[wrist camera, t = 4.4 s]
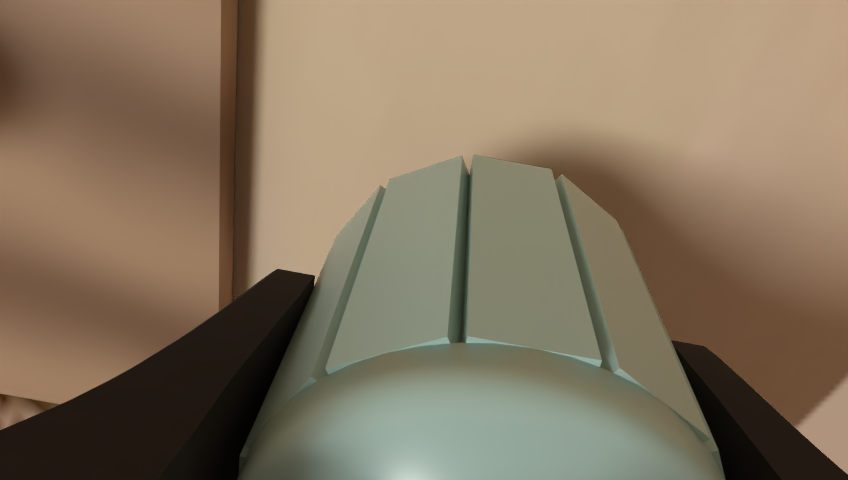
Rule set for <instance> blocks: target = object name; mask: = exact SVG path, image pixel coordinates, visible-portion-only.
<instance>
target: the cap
mask: <svg viewBox="0 0 848 480" xmlns="http://www.w3.org/2000/svg"><path fill="white" fill-rule="evenodd" d="M237 480H725V476H724V472H723V467H722V463H721V459H720V454H719V450H718V448H717V446H716V443H715V441H714V439H713V436H712V434H711V432H710V429H709V427H708V425H707V423H706V420H705V418H704V416H703V413H702V411H701V409H700V406H699V404H698V402H697V400H696V397H695V395H694V393H693V390H692V388H691V386H690V383H689V381H688V379H687V377H686V374H685V372H684V370H683V367H682V365H681V363H680V360H679V358H678V356H677V353H676V351H675V349H674V347H673V344H672V342H671V340H670V337H669V335H668V333H667V330H666V328H665V326H664V324H663V321H662V319H661V317H660V314H659V312H658V310H657V307H656V305H655V303H654V301H653V298H652V296H651V294H650V291H649V289H648V287H647V284H646V282H645V280H644V277H643V275H642V273H641V271H640V268H639V266H638V264H637V261H636V259H635V257H634V254H633V252H632V250H631V248H630V245H629V243H628V241H627V238H626V236H625V234H624V231H623V229H622V230H621V229H620V226H619V224H618V222H617V220H616V219H614V218H613V217H612V216H611V215H610V214H608V213H607V212H606V211H605V210H604V209H603V208H601V207H600V206H599V205H598V204H597V203H596V202H594V201H593V200H592V199H591V198H590V197H589V196H587V195H586V194H585V193H584V192H583V191H581V190H580V189H579V188H578V187H577V186H576V185H574V184H573V183H572V182H571V181H570V180H569V179H567V178H566V177H565V176H564V175H563V174H561V175H560V176H559V177H558V178H557V179H556V180H554V176H553V173H552V169H549V168H543V167H538V166H532V165H527V164H521V163H516V162H510V161H505V160H499V159H494V158H488V157H483V156H477V155H474V156H473V161H472V166H471V170H470V175H469V173H468V171H467V168H466V165H465V162H464V160H463V157H462V156H459V157H456V158H453V159H450V160H447V161H444V162H441V163H438V164H435V165H432V166H429V167H426V168H423V169H420V170H417V171H414V172H411V173H408V174H405V175H402V176H398V177H395V178H392V179H389V182H388V185H387V188H386V189H385V188H383V187H382V186H381V185H380V186H379V188H378V189H377V190H376V191H375V192H374V193H373V195H372V196H371V197H370V198H369V199H368V200H367V202H366V203H365V204H364V205H363V206H362V207H361V208H360V210H359V211H358V212H357V213H356V214H355V215H354V217H353V218H352V219H351V220H350V221H349V222H348V224H347V225H346V226H345V227H344V228H343V229H342V230H341V232H340V233H339V234H338V235H337V236H336V239H335V241H334V243H333V245H332V248H331V250H330V252H329V255H328V257H327V259H326V261H325V264H324V266H323V268H322V270H321V273H320V275H319V277H318V279H317V282H316V284H315V286H314V288H313V291H312V293H311V295H310V298H309V300H308V302H307V304H306V307H305V309H304V311H303V313H302V316H301V318H300V320H299V322H298V325H297V327H296V329H295V332H294V334H293V336H292V338H291V341H290V343H289V345H288V347H287V350H286V352H285V354H284V356H283V359H282V361H281V363H280V365H279V368H278V370H277V372H276V375H275V377H274V379H273V381H272V384H271V386H270V388H269V390H268V393H267V395H266V397H265V399H264V402H263V404H262V406H261V409H260V411H259V413H258V415H257V418H256V420H255V422H254V424H253V427H252V429H251V431H250V433H249V436H248V438H247V440H246V442H245V445H244V447H243V449H242V452H241V454H240V456H239V476H238V478H237Z"/></svg>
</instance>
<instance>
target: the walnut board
mask: <svg viewBox="0 0 848 480" xmlns="http://www.w3.org/2000/svg"><path fill="white" fill-rule="evenodd" d="M237 23H238V0H0V393H1V394H7V395H12V396H18V397H23V398H29V399H35V400H40V401H46V402H51V403H57V404H62V403H65V402H67V401H69V400H71V399H73V398H75V397H77V396H79V395H81V394H83V393H85V392H87V391H89V390H91V389H93V388H95V387H97V386H99V385H101V384H103V383H105V382H107V381H109V380H110V379H112V378H114V377H116V376H118V375H120V374H121V373H123V372H125V371H127V370H129V369H131V368H132V367H134V366H136V365H137V364H139V363H141V362H142V361H144V360H145V359H147V358H149V357H150V356H152V355H154V354H155V353H157V352H158V351H160V350H162V349H163V348H165V347H166V346H168V345H170V344H171V343H173V342H175V341H176V340H178V339H179V338H181V337H182V336H184V335H185V334H187V333H188V332H190V331H191V330H193V329H194V328H196V327H197V326H199V325H200V324H201V323H203V322H204V321H206V320H207V319H209V318H210V317H211V316H213V315H214V314H216V313H217V312H219V311H220V310H222V309H223V308H224V307H226V306H227V305H228V304H230V303H231V302H232V277H233V226H234V176H235V125H236V74H237Z"/></svg>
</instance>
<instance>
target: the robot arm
mask: <svg viewBox="0 0 848 480" xmlns="http://www.w3.org/2000/svg"><path fill="white" fill-rule="evenodd" d="M314 280H315V276H314V275H308V274H303V273H297V272H292V271H286V270H281V269H277V270H275V271H273V272H272V273H270V274H269V275H268V276H266V277H265V278H263V279H262V280H261V281H259V282H258V283H257V284H255V285H254V286H253V287H251V288H250V289H249V290H247V291H246V292H245V293H243V294H242V295H241V296H239V297H238V298H237V299H235V300H234V301H232V302H231V303H230V304H228V305H227V306H226V307H224V308H223V309H222V310H220V311H219V312H217V313H216V314H214V315H213V316H211V317H210V318H209V319H207V320H206V321H204V322H203V323H201V324H200V325H199V326H197V327H196V328H194V329H193V330H191V331H190V332H188V333H187V334H185V335H184V336H182V337H181V338H179V339H178V340H176V341H175V342H173V343H171V344H170V345H168V346H166V347H165V348H163V349H162V350H160V351H158V352H157V353H155V354H154V355H152V356H150V357H149V358H147V359H145V360H144V361H142V362H141V363H139V364H137V365H136V366H134V367H132V368H131V369H129V370H127V371H125V372H123V373H121V374H120V375H118V376H116V377H114V378H112V379H110V380H109V381H107V382H105V383H103V384H101V385H99V386H97V387H95V388H93V389H91V390H89V391H87V392H85V393H83V394H81V395H79V396H77V397H75V398H73V399H71V400H69V401H67V402H65V403H62V404H60V405H58V406H56V407H54V408H52V409H49V410H47V411H45V412H42V413H40V414H37V415H35V416H33V417H30V418H28V419H26V420H23V421H21V422H19V423H16V424H14V425H12V426H9V427H7V428H5V429H2V430H0V480H237V478H238V476H239V456H240V454H241V452H242V449H243V447H244V445H245V442H246V440H247V438H248V436H249V433H250V431H251V429H252V427H253V424H254V422H255V420H256V418H257V415H258V413H259V411H260V409H261V406H262V404H263V402H264V399H265V397H266V395H267V393H268V390H269V388H270V386H271V384H272V381H273V379H274V377H275V375H276V372H277V370H278V368H279V365H280V363H281V361H282V359H283V356H284V354H285V352H286V350H287V347H288V345H289V343H290V341H291V338H292V336H293V334H294V332H295V329H296V327H297V325H298V322H299V320H300V318H301V316H302V313H303V311H304V309H305V307H306V304H307V302H308V300H309V298H310V295H311V293H312V291H313V288H314ZM671 342H672V344H673V347H674V349H675V351H676V353H677V356H678V358H679V360H680V363H681V365H682V367H683V370H684V372H685V374H686V377H687V379H688V381H689V383H690V386H691V388H692V390H693V393H694V395H695V397H696V400H697V402H698V404H699V406H700V409H701V411H702V413H703V416H704V418H705V420H706V423H707V425H708V427H709V429H710V432H711V434H712V436H713V439H714V441H715V443H716V446H717V448H718V450H719V454H720V459H721V463H722V467H723V472H724V476H725V480H848V475H847V474H846V473H845V472H844V471H843V470H842V469H840V468H839V467H838V466H837V465H836V464H835V463H834V462H832V461H831V460H830V459H829V458H827V456H825V455H824V454H823V453H822V452H821V451H820V450H819V449H818V448H817V447H815V446H814V445H813V444H812V443H811V442H810V441H809V440H808V439H807V438H805V437H804V436H803V435H802V434H801V433H800V432H799V431H798V430H797V429H796V428H794V427H793V426H792V425H791V424H790V423H789V422H788V421H787V420H786V419H785V418H784V417H783V416H781V415H780V414H779V413H778V412H777V411H776V410H775V409H774V408H773V407H772V406H771V405H770V404H769V403H767V402H766V401H765V400H764V399H763V398H762V397H761V396H760V395H759V394H758V393H757V392H756V391H755V390H754V389H752V388H751V387H750V386H749V385H748V384H747V383H746V382H745V381H744V380H743V379H742V378H741V377H740V376H738V375H737V374H736V373H735V372H734V371H733V370H732V369H731V368H730V367H729V366H727V365H726V364H725V363H724V362H723V361H722V360H721V359H719V358H718V357H717V356H716V355H715V354H713V353H712V352H711V351H710V350H708V349H707V348H706V347H704V346H700V345H694V344H689V343H683V342H678V341H672V340H671Z"/></svg>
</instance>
